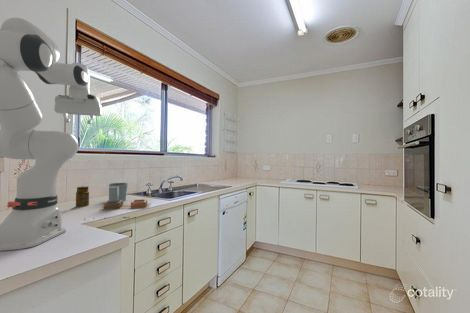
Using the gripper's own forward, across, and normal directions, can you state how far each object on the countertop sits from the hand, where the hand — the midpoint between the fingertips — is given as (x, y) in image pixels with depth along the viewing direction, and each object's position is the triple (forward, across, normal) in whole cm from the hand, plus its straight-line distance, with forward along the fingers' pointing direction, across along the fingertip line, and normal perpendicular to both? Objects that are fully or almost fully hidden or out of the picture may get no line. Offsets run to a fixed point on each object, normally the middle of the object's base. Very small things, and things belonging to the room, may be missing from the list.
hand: (79, 123), depth 113 cm
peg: (+45, +16, +2) cm, 48 cm away
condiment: (+46, 0, +9) cm, 47 cm away
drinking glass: (+46, +16, +21) cm, 53 cm away
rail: (+46, +23, +1) cm, 52 cm away
